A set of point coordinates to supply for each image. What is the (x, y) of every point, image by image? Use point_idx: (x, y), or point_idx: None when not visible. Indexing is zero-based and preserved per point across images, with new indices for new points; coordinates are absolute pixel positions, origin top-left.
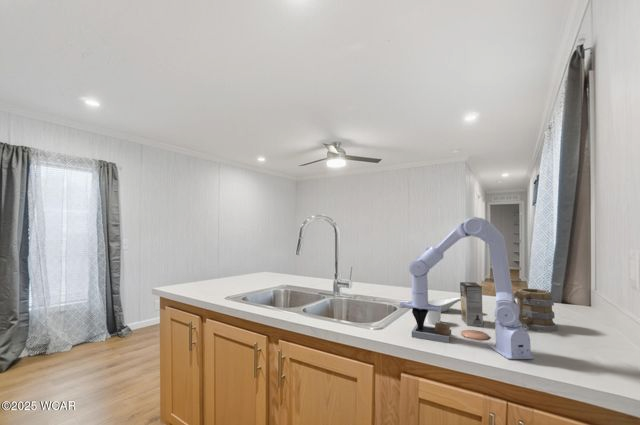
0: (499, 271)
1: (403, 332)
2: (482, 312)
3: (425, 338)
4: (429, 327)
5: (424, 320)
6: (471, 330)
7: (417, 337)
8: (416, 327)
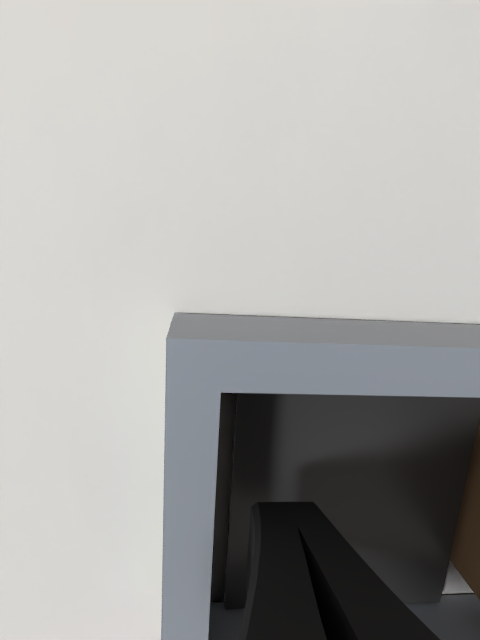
0: None
1: (15, 519)
2: None
3: None
4: (427, 391)
5: (419, 634)
6: None
7: None
8: (202, 515)
